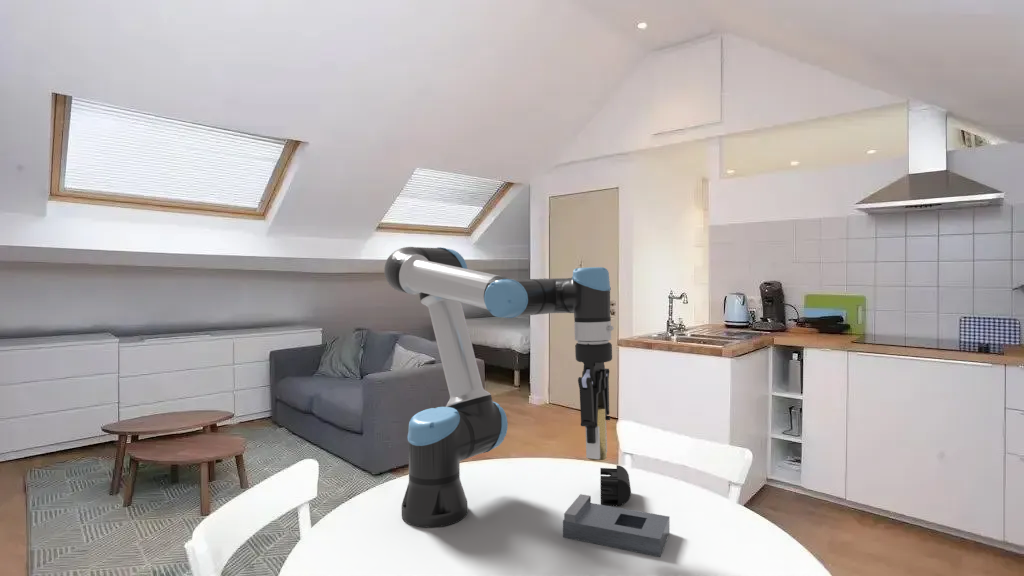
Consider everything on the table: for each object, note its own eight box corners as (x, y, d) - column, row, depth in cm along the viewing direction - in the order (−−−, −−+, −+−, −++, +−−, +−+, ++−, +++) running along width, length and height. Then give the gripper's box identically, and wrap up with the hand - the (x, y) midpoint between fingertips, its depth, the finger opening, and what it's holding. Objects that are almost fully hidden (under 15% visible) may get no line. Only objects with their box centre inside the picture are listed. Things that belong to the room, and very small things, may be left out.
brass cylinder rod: (584, 459, 114) (582, 410, 114) (590, 453, 117) (589, 406, 117) (603, 461, 112) (601, 412, 112) (609, 455, 115) (607, 407, 115)
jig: (563, 537, 116) (562, 513, 116) (579, 516, 126) (579, 493, 126) (660, 557, 107) (660, 531, 107) (669, 532, 117) (669, 509, 117)
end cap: (631, 508, 130) (631, 480, 130) (600, 506, 131) (600, 478, 131) (628, 491, 140) (628, 465, 140) (600, 490, 141) (600, 464, 141)
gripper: (597, 346, 105) (601, 469, 105) (622, 338, 120) (625, 445, 120) (561, 346, 108) (564, 465, 109) (589, 337, 124) (592, 442, 124)
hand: (596, 454), depth 114 cm, fingers closed on brass cylinder rod, 4 cm apart
